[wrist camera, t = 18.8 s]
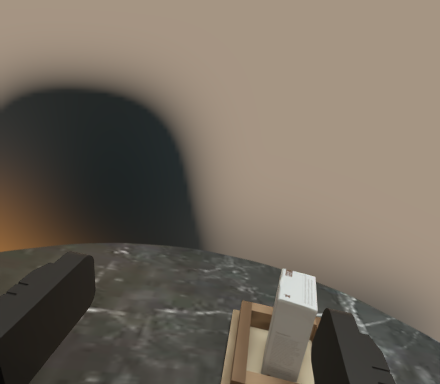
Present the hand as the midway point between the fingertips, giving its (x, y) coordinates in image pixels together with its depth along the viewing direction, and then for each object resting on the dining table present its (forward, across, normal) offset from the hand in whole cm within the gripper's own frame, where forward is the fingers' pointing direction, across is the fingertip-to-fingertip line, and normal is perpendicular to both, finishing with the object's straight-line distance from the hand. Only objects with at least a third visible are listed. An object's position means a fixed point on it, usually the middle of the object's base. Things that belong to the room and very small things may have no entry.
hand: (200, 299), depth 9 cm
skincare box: (+18, -9, +26) cm, 33 cm away
